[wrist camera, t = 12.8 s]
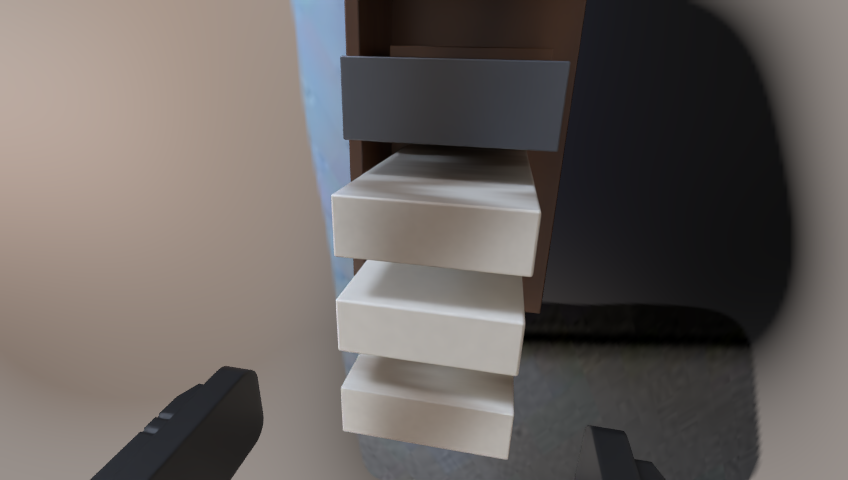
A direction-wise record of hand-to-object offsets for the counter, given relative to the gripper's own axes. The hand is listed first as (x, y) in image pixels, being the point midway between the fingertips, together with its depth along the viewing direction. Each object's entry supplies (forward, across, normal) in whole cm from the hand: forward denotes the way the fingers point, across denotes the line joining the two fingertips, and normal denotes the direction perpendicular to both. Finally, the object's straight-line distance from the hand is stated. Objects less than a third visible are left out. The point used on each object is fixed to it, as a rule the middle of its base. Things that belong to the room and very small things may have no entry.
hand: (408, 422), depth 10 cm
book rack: (+16, 0, -5) cm, 17 cm away
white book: (+15, 0, 0) cm, 16 cm away
